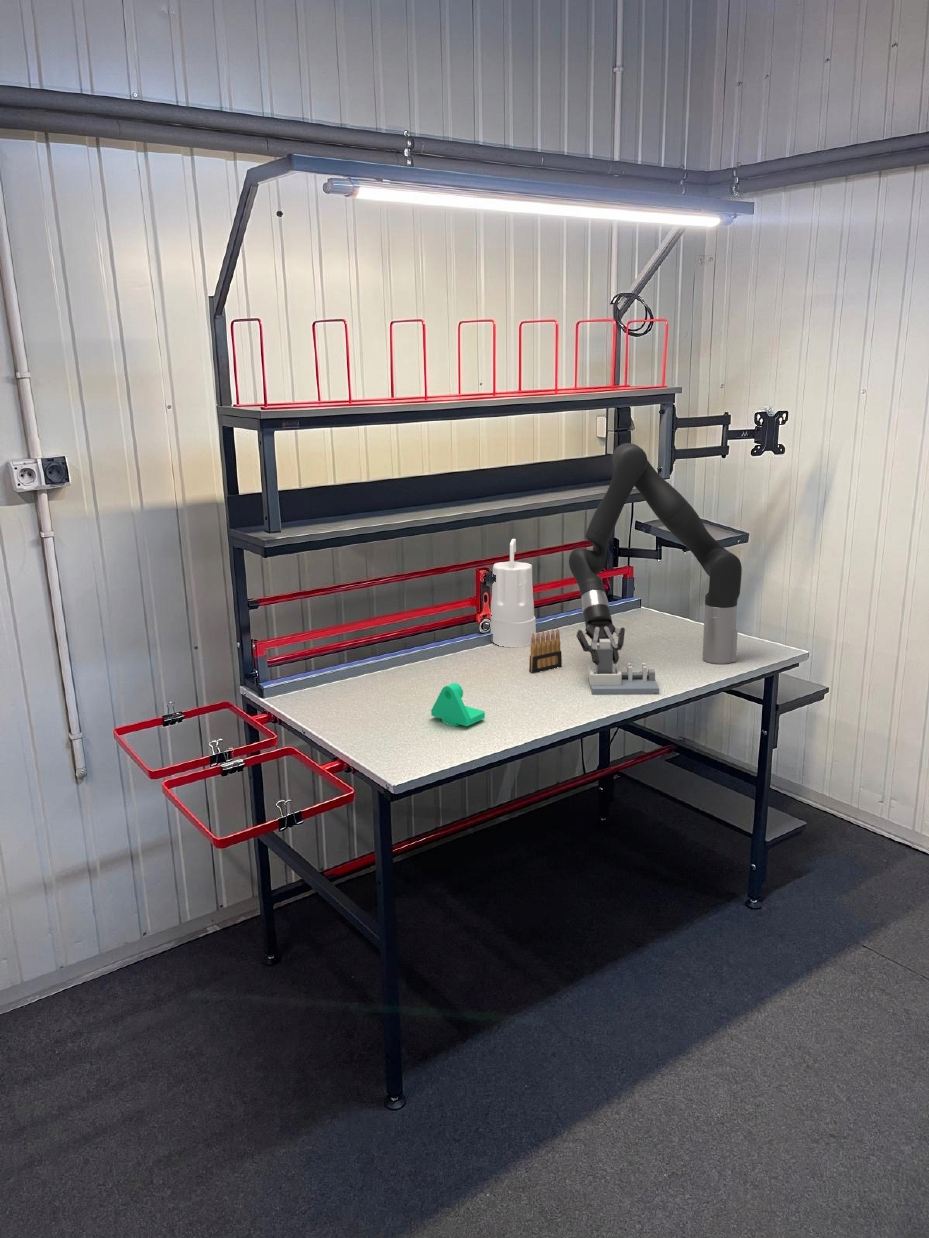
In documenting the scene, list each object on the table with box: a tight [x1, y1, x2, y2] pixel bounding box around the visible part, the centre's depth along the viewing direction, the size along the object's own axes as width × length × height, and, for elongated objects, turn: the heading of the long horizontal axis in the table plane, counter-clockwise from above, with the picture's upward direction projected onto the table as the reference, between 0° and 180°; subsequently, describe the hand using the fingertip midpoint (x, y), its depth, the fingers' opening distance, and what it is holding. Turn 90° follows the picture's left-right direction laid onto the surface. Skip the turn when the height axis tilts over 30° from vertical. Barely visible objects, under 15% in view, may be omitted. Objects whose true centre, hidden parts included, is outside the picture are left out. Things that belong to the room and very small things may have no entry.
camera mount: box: [430, 682, 486, 727], centre depth 229 cm, size 12×8×10 cm, turn 49°
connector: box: [596, 639, 614, 674], centre depth 250 cm, size 4×4×10 cm
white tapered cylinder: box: [490, 538, 537, 648], centre depth 293 cm, size 15×15×33 cm
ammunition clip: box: [528, 627, 563, 674], centre depth 266 cm, size 11×2×12 cm, turn 121°
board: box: [587, 662, 660, 695], centre depth 251 cm, size 18×14×6 cm
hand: (606, 662), depth 248 cm, fingers closed on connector, 4 cm apart
